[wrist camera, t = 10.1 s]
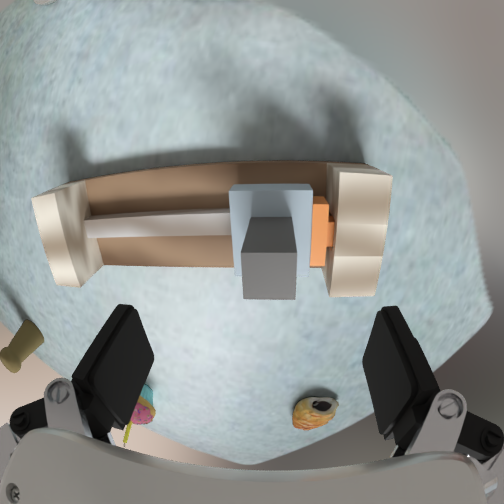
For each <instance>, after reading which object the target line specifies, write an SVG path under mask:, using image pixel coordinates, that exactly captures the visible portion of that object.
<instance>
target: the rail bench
mask: <svg viewBox="0 0 504 504" xmlns="http://www.w3.org/2000/svg"><path fill="white" fill-rule="evenodd" d="M392 177H393V176H392V175H390V174H388V173H386V172H383V171H381V170H379V169H377V168H375V167H372V166H370V165H368V164H365V163H351V162H332V161H293V160H277V161H237V162H217V163H203V164H190V165H179V166H169V167H160V168H151V169H143V170H136V171H129V172H122V173H116V174H109V175H103V176H98V177H92V178H87V179H82V180H77V181H72V182H68V183H65V184H63V185H60V186H58V187H55V188H53V189H51V190H48V191H46V192H44V193H42V194H39V195H37V196H35V197H33V198H32V203H33V208H34V212H35V216H36V221H37V225H38V228H39V232H40V236H41V239H42V243H43V246H44V250H45V253H46V256H47V259H48V262H49V265H50V268H51V271H52V274H53V276H54V279H55V282H56V284H57V285H61V286H70V287H80V288H81V287H82V286H83V285H84V284H85V283H86V282H87V281H88V280H89V279H90V278H91V277H92V276H93V275H94V274H95V273H96V272H97V271H98V270H99V269H100V268H101V267H102V266H103V265H123V266H166V267H234V259H233V246H232V232H231V218H230V204H229V190H230V189H231V187H232V186H233V185H234V184H310V186H311V188H312V190H313V196H323V197H324V198H325V199H326V201H327V202H328V204H329V216H333V218H334V219H335V226H334V239H333V247H326V258H325V266H310V268H322V271H323V275H324V279H325V282H326V286H327V290H328V294H329V297H356V296H375V292H376V287H377V282H378V278H379V273H380V268H381V262H382V257H383V251H384V245H385V239H386V232H387V225H388V217H389V209H390V200H391V189H392Z"/></svg>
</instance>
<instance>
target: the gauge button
mask: <svg viewBox="0 0 504 504" xmlns="http://www.w3.org/2000/svg"><path fill="white" fill-rule="evenodd" d="M334 226H335V219H334V218H333V216H329V204H328V202H327V201H326V199H325V198H324V197H323V196H313V208H312V234H311V253H310V266H325V258H326V247H333V239H334Z"/></svg>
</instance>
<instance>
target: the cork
mask: <svg viewBox="0 0 504 504" xmlns="http://www.w3.org/2000/svg"><path fill="white" fill-rule="evenodd" d="M42 343H44V337H43V335H42V333H41V332H40V330H39V329H38V328H37V326H36V325H35V324H34V323H32V322H31V321H29V320H25V321H24V322H23V324H22V325H21V327H20V328H19V330H18V331H17V333H16V335H15V336H14V338H13V339H12V341H11V342H10V344H9V346H8V347H5V348H3V349H2V350H1V352H0V360H1V362H2V363H3V364H4V366H5V367H6V368H7V369H8V370H9V371H11V372H13V373H16V372H18V371H19V370H20V368H21V363H22V362H23V361H24V360H25V359H26V358H27V357H28V356H29V355H30V354H31V353H32V352H34V351H35V350H36V349H37V348H38V347H39V346H40V345H41V344H42Z"/></svg>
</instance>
